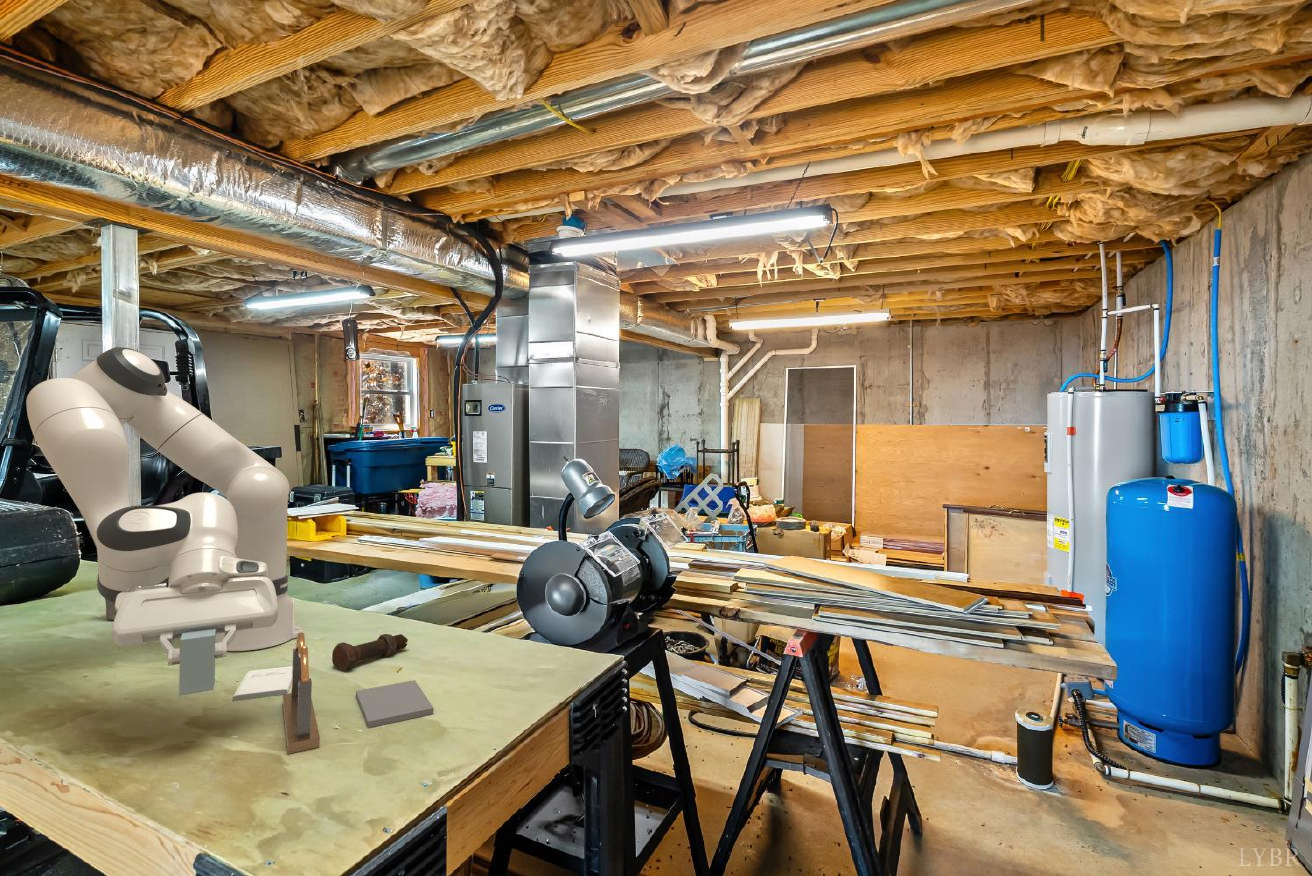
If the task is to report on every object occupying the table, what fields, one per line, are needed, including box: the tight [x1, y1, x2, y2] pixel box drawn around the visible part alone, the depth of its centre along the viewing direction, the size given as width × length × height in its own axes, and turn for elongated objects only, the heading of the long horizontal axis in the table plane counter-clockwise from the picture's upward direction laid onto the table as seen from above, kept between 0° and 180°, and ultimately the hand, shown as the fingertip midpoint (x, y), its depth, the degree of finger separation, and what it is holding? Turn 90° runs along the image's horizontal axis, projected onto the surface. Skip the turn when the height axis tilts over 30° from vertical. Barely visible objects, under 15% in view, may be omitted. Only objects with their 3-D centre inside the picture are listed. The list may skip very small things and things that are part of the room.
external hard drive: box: [232, 665, 292, 702], centre depth 112 cm, size 2×8×12 cm
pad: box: [355, 679, 434, 729], centre depth 104 cm, size 14×10×1 cm
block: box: [178, 628, 216, 697], centre depth 89 cm, size 4×4×8 cm
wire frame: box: [282, 631, 321, 755], centre depth 97 cm, size 20×4×14 cm, turn 34°
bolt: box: [331, 633, 409, 672], centre depth 126 cm, size 6×5×15 cm
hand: (197, 659), depth 89 cm, fingers closed on block, 4 cm apart
